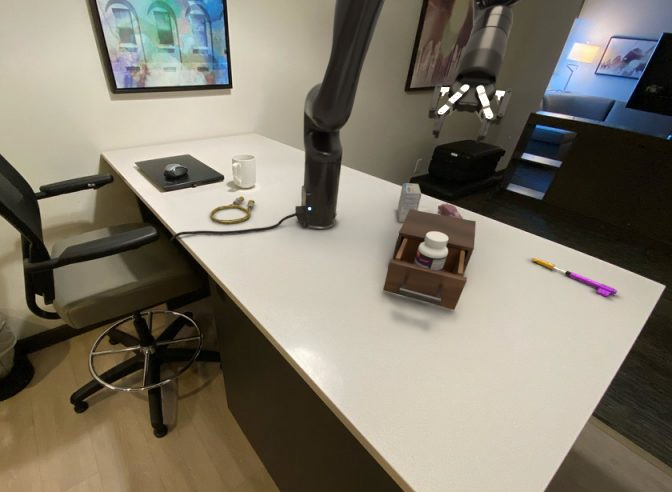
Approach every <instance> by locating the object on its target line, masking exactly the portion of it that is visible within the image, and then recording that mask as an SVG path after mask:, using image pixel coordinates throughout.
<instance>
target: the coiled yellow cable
mask: <svg viewBox="0 0 672 492" xmlns="http://www.w3.org/2000/svg"><path fill="white" fill-rule="evenodd" d="M244 201H245V198H244V197H243V196H239V197H237V198H235V199H234V200H233V201H232V203H231V204H229V205H221V206H218V207H216V208H214V209H213V210H212V211H211V212H210V218H211V219H212V220H213V221H214V222H216V223H219V224H227V225H230V224H240V223H242V222H245V221H246V220H247V219H249V218H250V216H251V210H252V209H253V208H254V205H255V204H256V202H255V200H254V199H249V200H248V201H247V209H246V208H244V207H242V206H239V205H240V204H242V202H244ZM224 209H240V210H242V211H244V212H245V213H247V214H246V215H245V216H243V217H240V218H235V219H217V218H215V217H214V213H216V212H217V211H220V210H224Z"/></svg>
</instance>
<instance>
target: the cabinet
mask: <svg viewBox="0 0 672 492" xmlns="http://www.w3.org/2000/svg"><path fill="white" fill-rule="evenodd" d="M476 223H477V221H476V220H472V219H465V218H463V219H460V218H455V217H450V216H444V215H440V214H438V213H432V212H428V211H422V210H418V211H417V210H412V209H410V210H409V212H408V214H407V216H406V218H405V220H404V222H402V225H401V227H400V229H399V231H398V235H397V238H396V241H395V247H394V251H393V256H392V260H395V259H396V256H397V254H398V251H399V249H400V247H401V244H402V242H403V239H404V237H407V238H412V239H417V240H421V241H425V237H426V234H427V233H428V232H432V231H435V232H441V233H443V234H445V235H447V236H448V242H447V245H446V246H449V247H454V248H459V249H463V250H465V257H464V266H463V274H462V276H463V277H464V274H465V272H466V269H467V267H468V265H469V263H470V260H471V257H472V255H473V253H474V250H475V242H476V241H475V240H476V239H475V238H476V226H477V225H476Z"/></svg>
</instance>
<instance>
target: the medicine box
mask: <svg viewBox="0 0 672 492" xmlns="http://www.w3.org/2000/svg"><path fill="white" fill-rule="evenodd" d="M421 198H422V192H421V188H420V185H419V183H413V182H412V183H410V182H409V183H408V182H406V183H405V182H404V183H402V187H401V191H400V195H399V200H398V205H397V209H396V212H397V217H398V222H400V223H404V220H405V218H406V216H407V214H408V212H409V210H410V209H412V210H417V211H419V206H420V201H421Z"/></svg>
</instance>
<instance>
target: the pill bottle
mask: <svg viewBox="0 0 672 492" xmlns="http://www.w3.org/2000/svg"><path fill="white" fill-rule="evenodd" d="M447 242H448V236H447V235H445V234H443V233H441V232H435V231H432V232H428V233H427V234H426V237H425V242H422V243H421V244H420V245H419V248H418V251H417V255H416V258H415V261H414V265H417V266H421V267H425V268H430V269H434V270H438V271H442V268H443V266H444V263H445V260H446V257H447V254H448V249H447V247H446V245H447Z"/></svg>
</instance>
